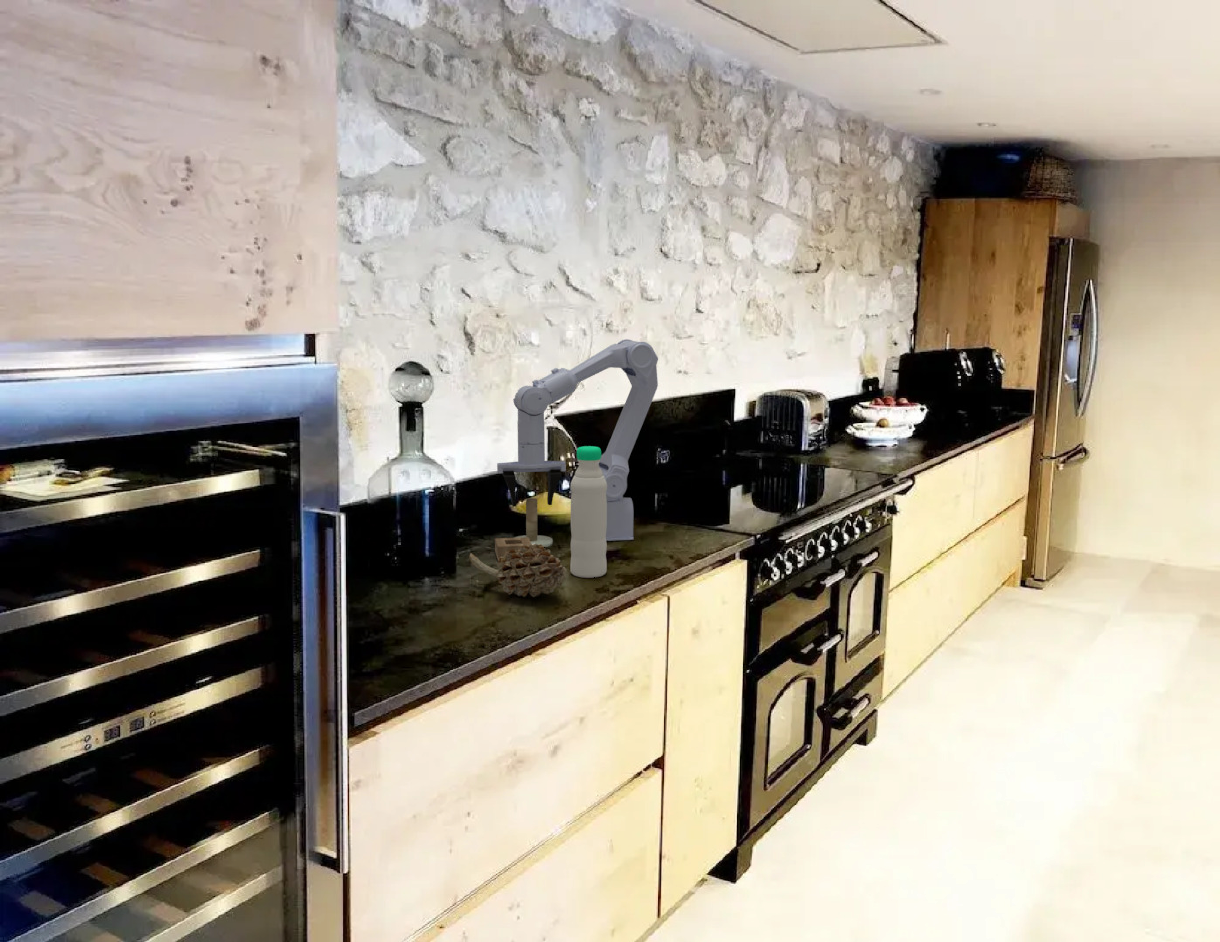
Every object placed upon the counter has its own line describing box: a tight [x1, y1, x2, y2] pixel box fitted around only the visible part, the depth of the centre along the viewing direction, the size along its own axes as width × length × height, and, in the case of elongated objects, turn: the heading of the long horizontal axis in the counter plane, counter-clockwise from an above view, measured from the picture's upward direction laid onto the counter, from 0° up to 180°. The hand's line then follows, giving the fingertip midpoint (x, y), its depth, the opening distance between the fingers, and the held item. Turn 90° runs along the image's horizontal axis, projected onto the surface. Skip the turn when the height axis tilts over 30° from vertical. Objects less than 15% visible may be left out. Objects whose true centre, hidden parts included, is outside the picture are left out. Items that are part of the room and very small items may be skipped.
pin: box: [525, 497, 538, 541], centre depth 235 cm, size 2×2×9 cm
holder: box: [494, 537, 532, 562], centre depth 225 cm, size 7×7×3 cm
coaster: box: [513, 534, 554, 548], centre depth 236 cm, size 9×9×1 cm
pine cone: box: [468, 544, 567, 598], centre depth 198 cm, size 22×10×10 cm, turn 61°
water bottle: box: [570, 445, 608, 579], centre depth 210 cm, size 7×7×25 cm
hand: (531, 504), depth 234 cm, fingers open, 7 cm apart
